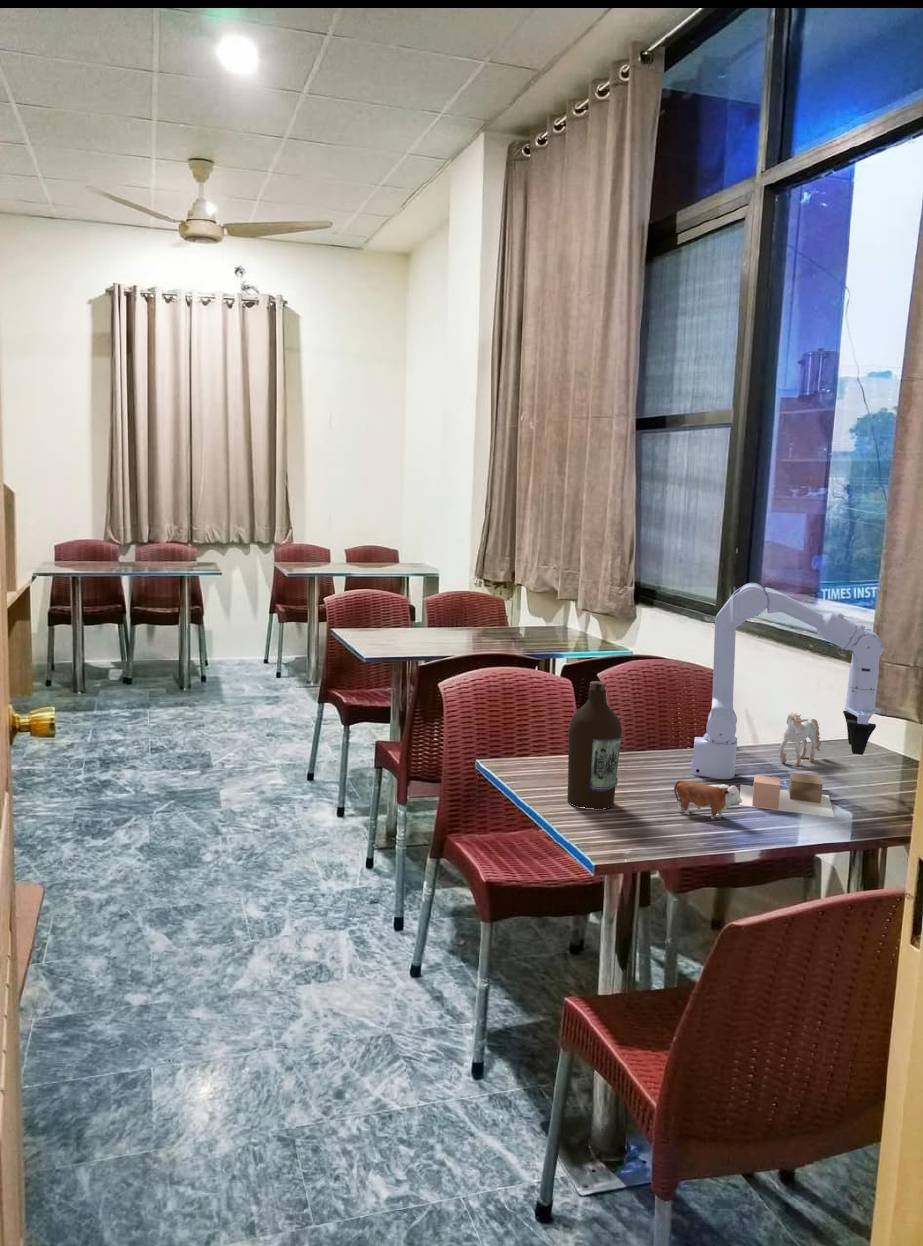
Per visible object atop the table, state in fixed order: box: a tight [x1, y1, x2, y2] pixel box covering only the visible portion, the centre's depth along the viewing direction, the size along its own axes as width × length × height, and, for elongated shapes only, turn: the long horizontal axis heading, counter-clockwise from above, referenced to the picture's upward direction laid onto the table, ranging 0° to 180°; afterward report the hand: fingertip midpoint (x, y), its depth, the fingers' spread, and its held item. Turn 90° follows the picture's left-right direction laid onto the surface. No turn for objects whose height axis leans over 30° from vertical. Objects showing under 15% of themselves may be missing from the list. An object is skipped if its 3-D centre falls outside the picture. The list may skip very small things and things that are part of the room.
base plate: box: [738, 784, 835, 818], centre depth 198 cm, size 18×14×1 cm
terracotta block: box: [752, 774, 781, 810], centre depth 195 cm, size 5×5×5 cm
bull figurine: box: [673, 780, 742, 820], centre depth 187 cm, size 4×13×8 cm, turn 58°
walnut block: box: [788, 772, 824, 803], centre depth 201 cm, size 6×6×4 cm
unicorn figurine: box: [778, 711, 822, 767], centre depth 228 cm, size 7×20×13 cm, turn 149°
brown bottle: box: [567, 680, 623, 809], centre depth 193 cm, size 11×11×25 cm
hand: (855, 749), depth 205 cm, fingers open, 7 cm apart
